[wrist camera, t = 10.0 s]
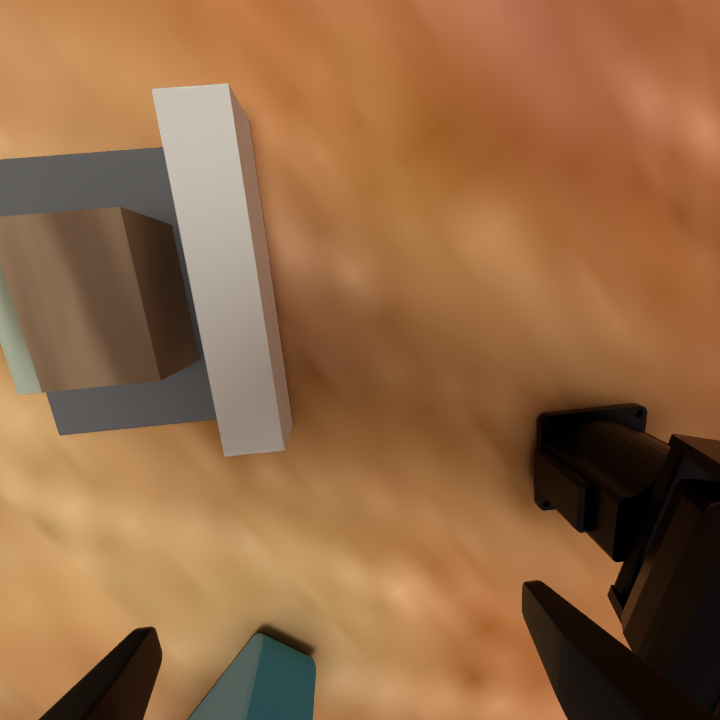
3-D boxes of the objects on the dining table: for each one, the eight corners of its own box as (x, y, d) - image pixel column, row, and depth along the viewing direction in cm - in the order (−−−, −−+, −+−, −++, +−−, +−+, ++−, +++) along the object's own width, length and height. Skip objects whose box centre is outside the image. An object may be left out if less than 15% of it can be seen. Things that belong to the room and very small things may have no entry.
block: (119, 206, 13) (-42, 219, 13) (160, 380, 14) (18, 394, 14) (171, 224, 17) (49, 235, 16) (199, 360, 18) (88, 371, 18)
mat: (190, 147, 16) (188, 145, 16) (239, 415, 19) (237, 417, 19) (-21, 164, 16) (-27, 161, 16) (63, 432, 19) (59, 435, 19)
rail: (249, 120, 16) (228, 83, 13) (292, 425, 20) (284, 450, 17) (186, 124, 16) (151, 89, 13) (242, 431, 20) (224, 456, 17)
